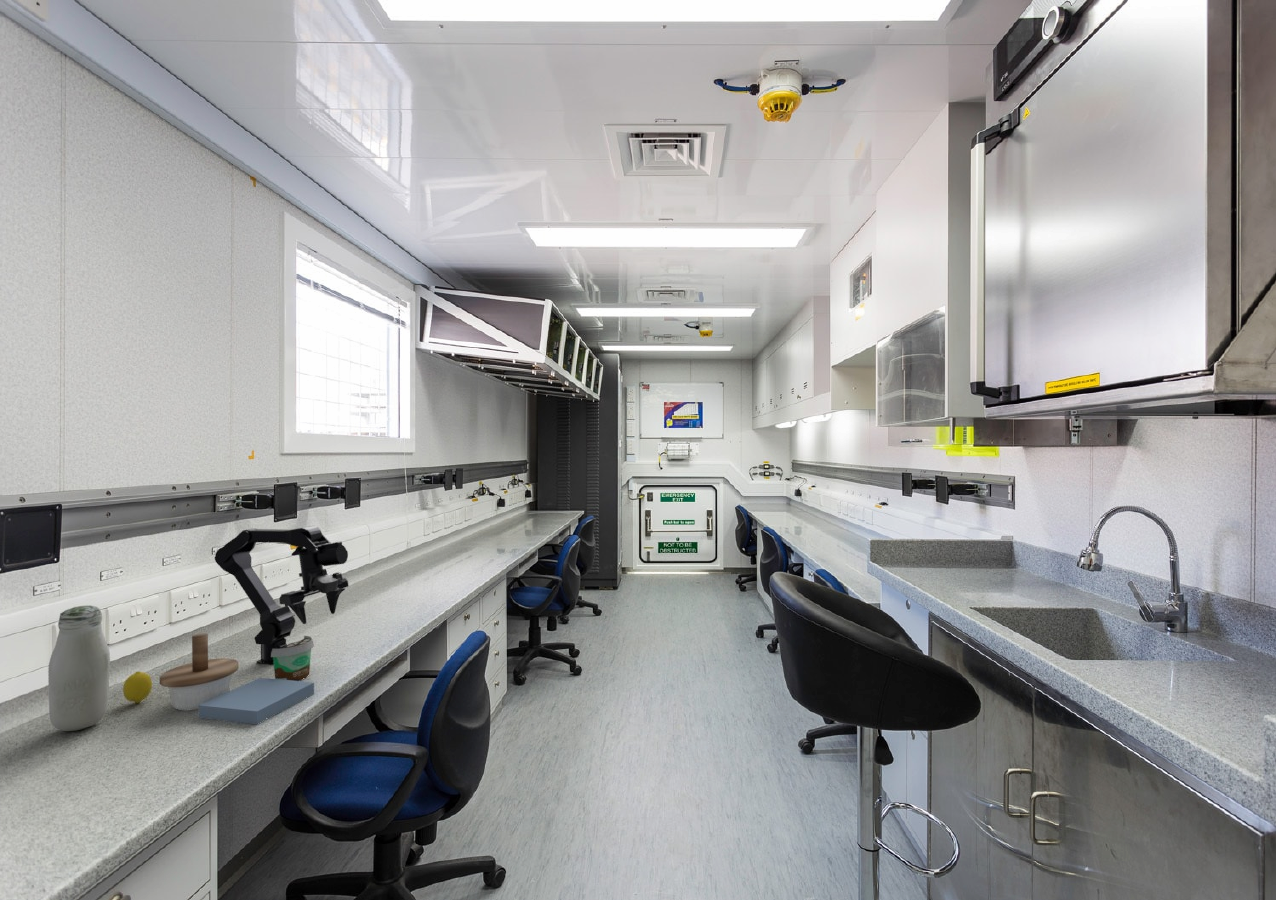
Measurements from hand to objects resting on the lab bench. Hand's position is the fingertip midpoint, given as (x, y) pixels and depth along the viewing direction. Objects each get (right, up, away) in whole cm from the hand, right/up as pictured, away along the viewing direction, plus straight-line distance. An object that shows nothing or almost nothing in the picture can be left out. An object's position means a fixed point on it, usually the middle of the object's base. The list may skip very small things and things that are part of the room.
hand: (319, 618), depth 174 cm
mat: (+2, -13, -31) cm, 33 cm away
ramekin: (-15, -13, -28) cm, 34 cm away
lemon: (-30, -13, -28) cm, 44 cm away
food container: (+2, -13, -14) cm, 19 cm away
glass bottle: (-32, -13, -41) cm, 54 cm away
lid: (-15, -6, -28) cm, 32 cm away
